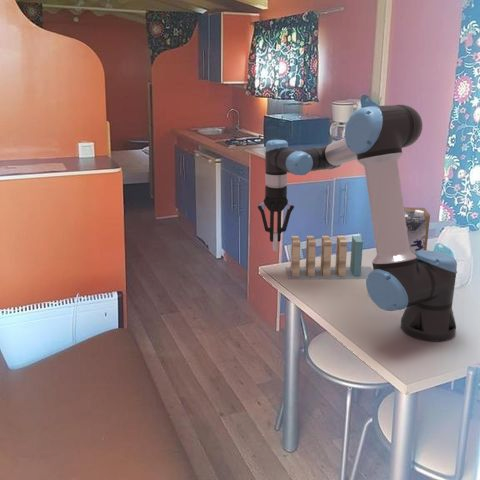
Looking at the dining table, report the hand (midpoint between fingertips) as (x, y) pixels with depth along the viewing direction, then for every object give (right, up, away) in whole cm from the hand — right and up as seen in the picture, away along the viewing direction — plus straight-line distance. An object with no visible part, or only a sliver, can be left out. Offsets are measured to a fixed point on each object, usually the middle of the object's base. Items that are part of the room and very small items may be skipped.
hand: (275, 249), depth 201 cm
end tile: (+29, -8, +3) cm, 31 cm away
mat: (+20, -9, +3) cm, 22 cm away
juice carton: (+44, -13, -8) cm, 47 cm away
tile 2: (+13, -8, +3) cm, 16 cm away
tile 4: (+24, -8, +3) cm, 26 cm away
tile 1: (+7, -8, +3) cm, 12 cm away
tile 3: (+18, -8, +3) cm, 20 cm away
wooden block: (+53, -4, +17) cm, 56 cm away
